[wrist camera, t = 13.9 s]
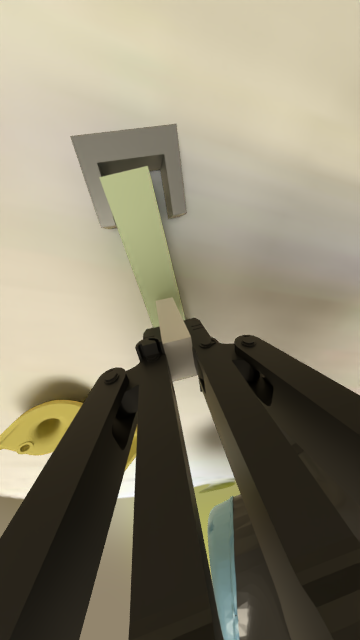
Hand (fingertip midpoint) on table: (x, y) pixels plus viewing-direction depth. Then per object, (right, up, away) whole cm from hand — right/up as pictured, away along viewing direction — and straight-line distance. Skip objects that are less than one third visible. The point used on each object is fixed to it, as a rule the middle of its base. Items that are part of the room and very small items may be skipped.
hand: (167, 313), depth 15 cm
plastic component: (-15, -17, +14) cm, 27 cm away
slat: (-2, +4, +6) cm, 7 cm away
